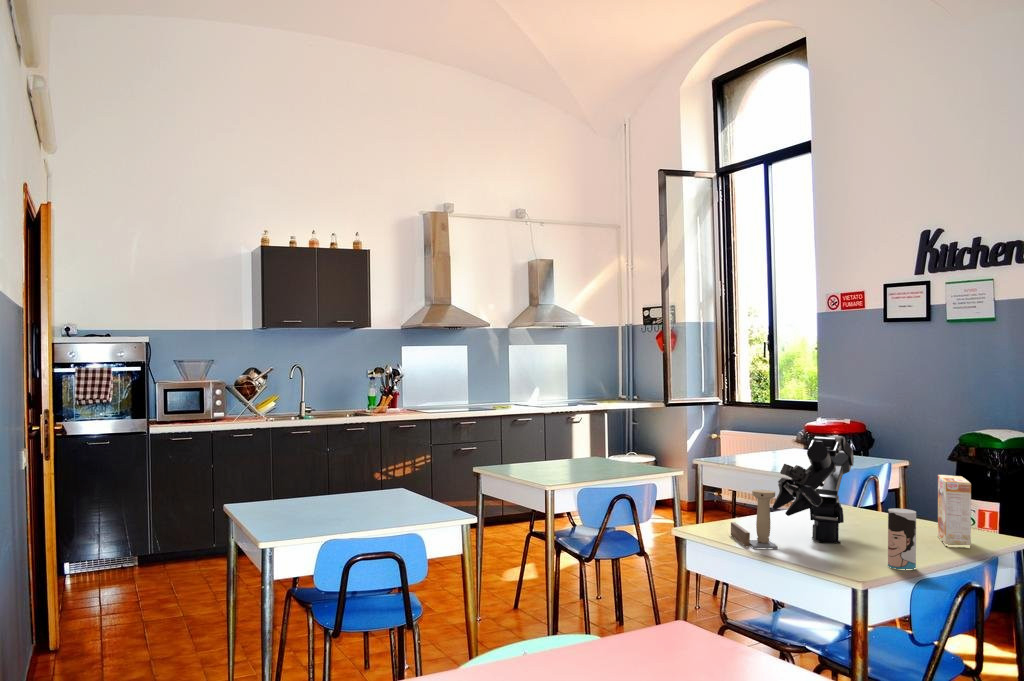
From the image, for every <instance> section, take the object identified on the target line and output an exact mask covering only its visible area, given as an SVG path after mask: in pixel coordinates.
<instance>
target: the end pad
mask: <svg viewBox="0 0 1024 681" xmlns="http://www.w3.org/2000/svg"><path fill="white" fill-rule="evenodd" d="M750 545H751V546H752V547H753V548H752V547H751V546H750V547H751V548H752V549H754V548H773V549H772V550H778V549H779V548H778V545H776V544H775V543H774V542H772V541H770V540H769V542H768V543H760V542H758V541H757V539H750Z"/></svg>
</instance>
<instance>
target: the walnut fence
mask: <svg viewBox="0 0 1024 681" xmlns="http://www.w3.org/2000/svg"><path fill="white" fill-rule="evenodd" d="M731 535H732V536H733V537H732V536H731ZM730 536H731V537H732V538H734V539H735V538H736V539H737V541H738V542H739V541H740V542H741V543H740V542H739V543H740V544H741V545H743V544H744V545H745V546H744V545H743V546H744V547H746V546H750V540H751V539H750V538H751V533H750V531H748V530H746V529H745V528H743V526H741V525H739V524H738V523H737V522H733V521H731V522H730ZM736 539H735V540H736ZM750 547H751V546H750Z"/></svg>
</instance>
